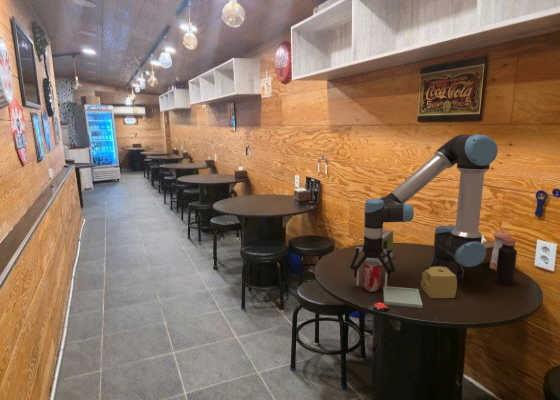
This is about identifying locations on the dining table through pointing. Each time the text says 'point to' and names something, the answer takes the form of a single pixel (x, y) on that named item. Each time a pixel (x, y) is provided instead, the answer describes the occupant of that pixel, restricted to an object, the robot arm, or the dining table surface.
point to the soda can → (371, 276)
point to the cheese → (439, 282)
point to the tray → (402, 297)
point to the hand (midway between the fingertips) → (371, 285)
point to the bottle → (506, 262)
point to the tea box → (385, 246)
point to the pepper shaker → (497, 247)
